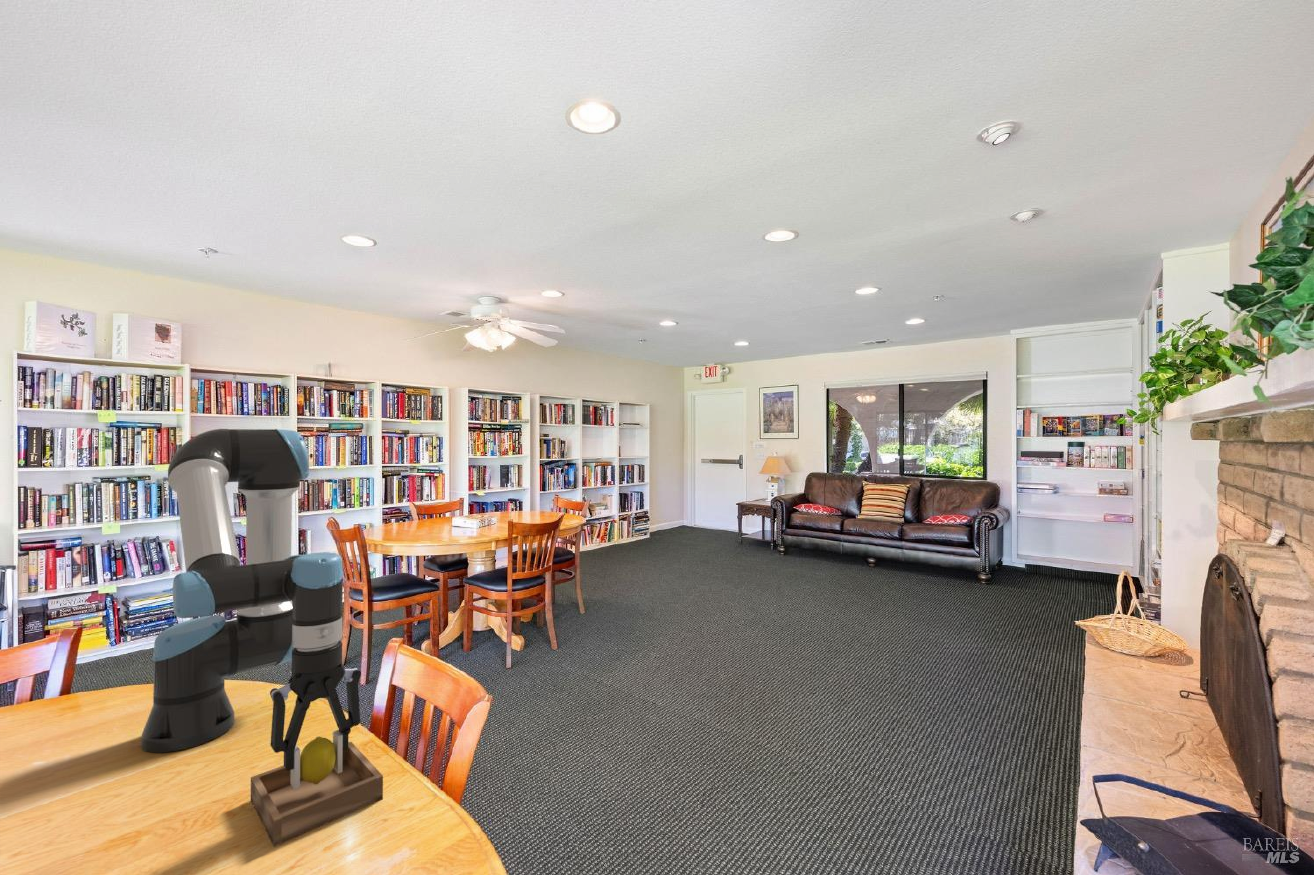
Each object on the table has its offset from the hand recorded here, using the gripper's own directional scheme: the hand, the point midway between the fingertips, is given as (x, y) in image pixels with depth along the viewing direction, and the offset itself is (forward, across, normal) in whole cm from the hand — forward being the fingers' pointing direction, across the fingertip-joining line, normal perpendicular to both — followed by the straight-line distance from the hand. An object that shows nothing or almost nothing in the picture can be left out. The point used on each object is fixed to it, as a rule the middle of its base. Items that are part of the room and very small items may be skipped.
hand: (316, 777), depth 97 cm
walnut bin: (+4, 0, 0) cm, 4 cm away
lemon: (+1, 0, 0) cm, 1 cm away
